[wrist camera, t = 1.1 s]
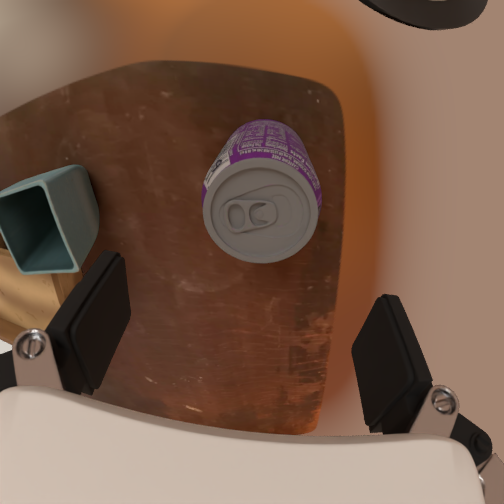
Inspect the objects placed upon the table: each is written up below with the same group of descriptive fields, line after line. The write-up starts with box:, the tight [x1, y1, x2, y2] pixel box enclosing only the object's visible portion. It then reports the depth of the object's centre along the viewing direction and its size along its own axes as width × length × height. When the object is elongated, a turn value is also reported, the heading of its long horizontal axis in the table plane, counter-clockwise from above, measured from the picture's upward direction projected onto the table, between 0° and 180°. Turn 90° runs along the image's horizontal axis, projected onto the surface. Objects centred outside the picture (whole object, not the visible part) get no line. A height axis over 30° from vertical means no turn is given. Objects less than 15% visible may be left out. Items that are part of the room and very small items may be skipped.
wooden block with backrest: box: [0, 232, 83, 345], centre depth 32 cm, size 14×16×9 cm
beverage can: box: [202, 119, 322, 263], centre depth 21 cm, size 7×7×12 cm
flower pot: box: [0, 165, 99, 275], centre depth 25 cm, size 9×9×9 cm
